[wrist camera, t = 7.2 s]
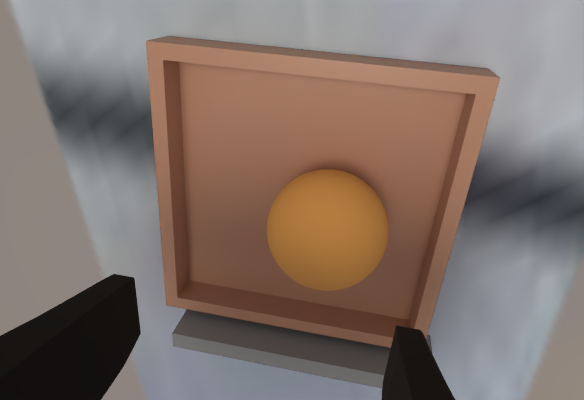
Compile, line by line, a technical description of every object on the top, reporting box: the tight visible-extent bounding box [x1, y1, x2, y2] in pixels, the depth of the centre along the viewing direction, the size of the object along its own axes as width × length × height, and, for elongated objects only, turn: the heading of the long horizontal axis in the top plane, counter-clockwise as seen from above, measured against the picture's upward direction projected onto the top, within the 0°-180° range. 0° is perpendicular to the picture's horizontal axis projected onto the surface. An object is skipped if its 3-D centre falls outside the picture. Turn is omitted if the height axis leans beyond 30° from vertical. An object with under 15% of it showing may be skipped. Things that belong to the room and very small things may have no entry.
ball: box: [267, 169, 389, 291], centre depth 17 cm, size 5×5×5 cm
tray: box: [146, 36, 500, 348], centre depth 18 cm, size 12×12×2 cm
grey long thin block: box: [172, 309, 432, 388], centre depth 21 cm, size 1×12×3 cm, turn 86°
